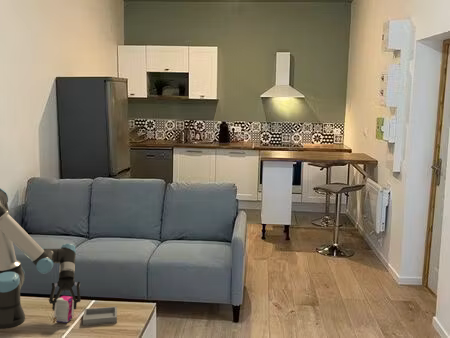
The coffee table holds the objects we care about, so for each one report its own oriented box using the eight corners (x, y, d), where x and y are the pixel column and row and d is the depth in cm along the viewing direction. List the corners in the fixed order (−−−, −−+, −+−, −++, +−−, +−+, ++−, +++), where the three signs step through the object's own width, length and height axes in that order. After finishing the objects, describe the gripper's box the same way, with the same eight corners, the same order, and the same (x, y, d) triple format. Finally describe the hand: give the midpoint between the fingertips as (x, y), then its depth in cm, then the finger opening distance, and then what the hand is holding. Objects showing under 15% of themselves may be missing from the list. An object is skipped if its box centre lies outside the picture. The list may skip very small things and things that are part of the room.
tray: (83, 325, 233) (82, 319, 233) (84, 314, 246) (84, 308, 246) (116, 322, 237) (116, 317, 237) (116, 311, 249) (116, 306, 249)
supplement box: (67, 323, 234) (66, 300, 233) (56, 321, 236) (55, 299, 234) (73, 318, 240) (72, 296, 239) (62, 316, 241) (61, 295, 240)
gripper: (87, 274, 253) (85, 317, 239) (46, 276, 248) (42, 320, 235) (86, 268, 247) (85, 311, 233) (45, 270, 243) (40, 314, 229)
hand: (63, 316), depth 234 cm, fingers closed on supplement box, 7 cm apart
